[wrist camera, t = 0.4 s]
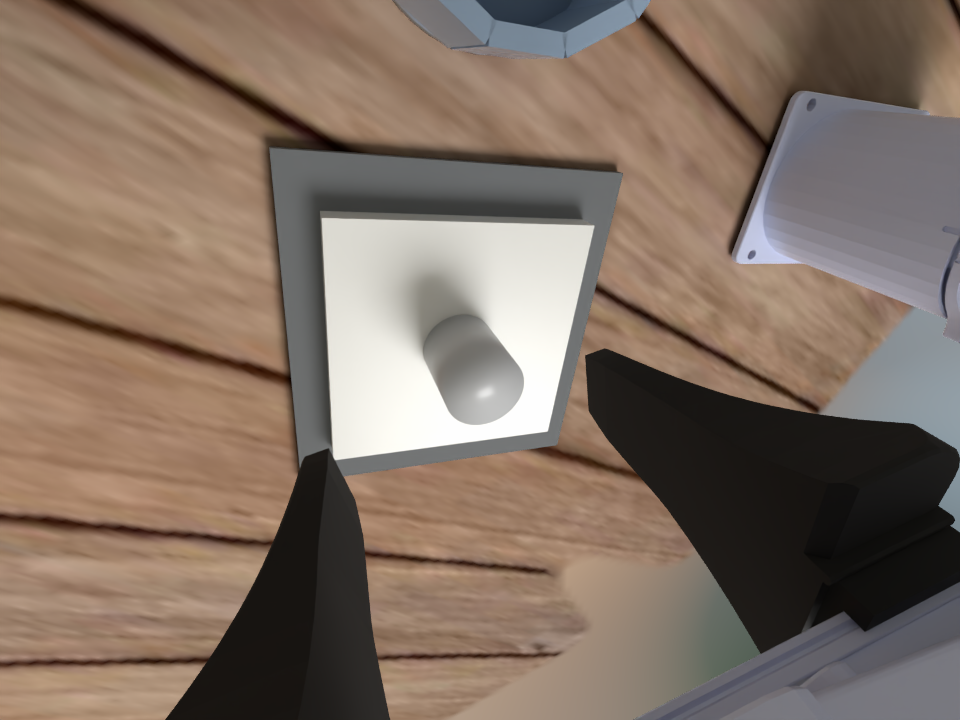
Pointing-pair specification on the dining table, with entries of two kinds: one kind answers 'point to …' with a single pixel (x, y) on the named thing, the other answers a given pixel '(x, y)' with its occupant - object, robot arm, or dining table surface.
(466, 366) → the lid
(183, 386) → the dining table surface
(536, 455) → the dining table surface
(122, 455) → the dining table surface
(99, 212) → the dining table surface
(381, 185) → the mat
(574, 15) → the bowl
